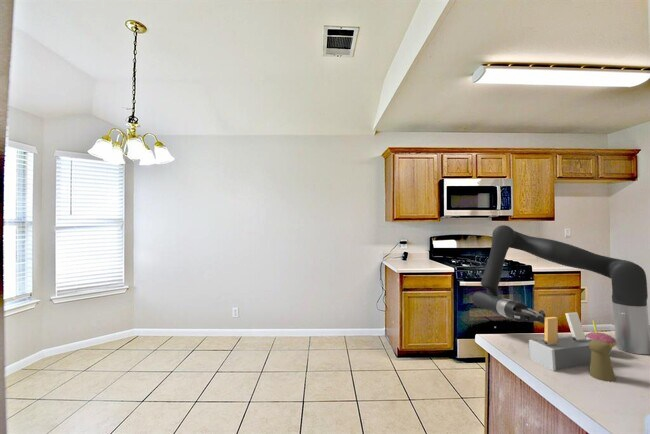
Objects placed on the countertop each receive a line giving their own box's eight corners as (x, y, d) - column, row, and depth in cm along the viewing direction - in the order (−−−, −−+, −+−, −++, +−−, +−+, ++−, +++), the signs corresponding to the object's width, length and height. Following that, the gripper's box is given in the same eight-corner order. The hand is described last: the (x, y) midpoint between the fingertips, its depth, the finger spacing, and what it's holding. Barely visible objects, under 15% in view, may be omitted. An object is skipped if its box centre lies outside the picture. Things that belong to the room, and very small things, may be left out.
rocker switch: (583, 339, 106) (574, 312, 108) (586, 339, 105) (577, 312, 107) (573, 340, 105) (564, 313, 108) (576, 340, 104) (567, 313, 107)
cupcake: (580, 350, 112) (578, 318, 113) (595, 346, 115) (592, 315, 115) (608, 359, 104) (605, 325, 105) (623, 355, 107) (620, 321, 107)
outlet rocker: (554, 341, 104) (554, 316, 103) (557, 343, 103) (558, 317, 102) (543, 343, 103) (544, 317, 103) (547, 344, 102) (547, 319, 101)
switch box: (579, 353, 110) (577, 334, 110) (606, 363, 101) (604, 343, 101) (530, 359, 106) (528, 340, 107) (553, 371, 97) (551, 349, 98)
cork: (621, 382, 89) (617, 345, 90) (598, 381, 90) (594, 344, 91) (606, 372, 95) (603, 338, 96) (584, 371, 96) (582, 337, 97)
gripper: (496, 301, 119) (532, 312, 102) (525, 298, 121) (565, 309, 104) (497, 320, 119) (534, 334, 102) (526, 317, 121) (567, 331, 104)
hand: (549, 322), depth 103 cm, fingers closed
